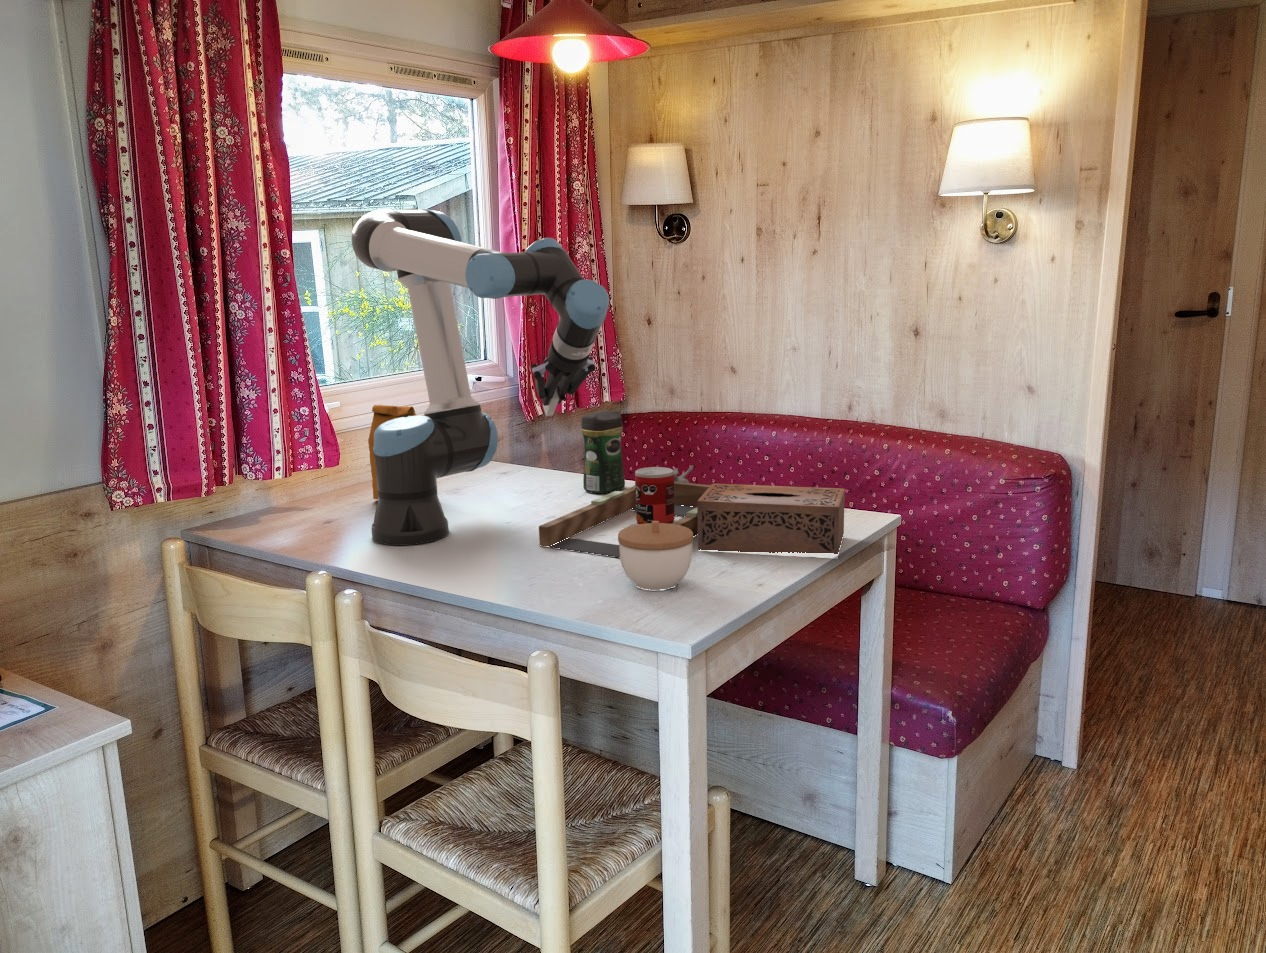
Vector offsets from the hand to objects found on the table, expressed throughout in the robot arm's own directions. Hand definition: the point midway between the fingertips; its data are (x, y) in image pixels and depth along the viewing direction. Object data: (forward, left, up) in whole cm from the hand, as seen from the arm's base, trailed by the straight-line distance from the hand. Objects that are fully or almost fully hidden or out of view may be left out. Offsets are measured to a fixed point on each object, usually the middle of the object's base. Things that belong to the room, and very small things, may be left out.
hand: (547, 410), depth 214 cm
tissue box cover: (+3, -48, -24) cm, 54 cm away
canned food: (+7, -21, -23) cm, 32 cm away
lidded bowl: (-28, -40, -23) cm, 54 cm away
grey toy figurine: (+31, -16, -24) cm, 42 cm away
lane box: (+2, -21, -23) cm, 31 cm away
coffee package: (-1, +41, -23) cm, 47 cm away
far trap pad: (+17, -21, -23) cm, 36 cm away
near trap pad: (-14, -21, -23) cm, 34 cm away
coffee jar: (+27, +4, -23) cm, 36 cm away
